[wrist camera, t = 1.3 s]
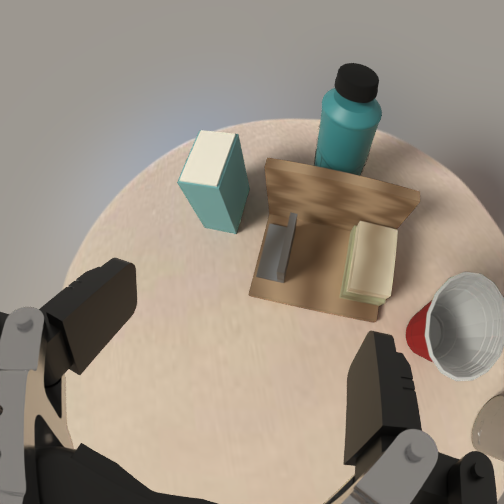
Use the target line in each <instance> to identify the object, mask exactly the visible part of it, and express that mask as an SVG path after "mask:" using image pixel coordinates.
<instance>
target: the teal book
mask: <svg viewBox="0 0 504 504" xmlns="http://www.w3.org/2000/svg"><path fill="white" fill-rule="evenodd" d="M177 183H178V185H179V186H180V188H181V190H182V191H183V193H184V195H185V196H186V198H187V199H188V201H189V203H190V204H191V206H192V208H193V209H194V211H195V213H196V214H197V216H198V217H199V219H200V221H201V222H202V224H203V226H204V227H205V228H209V229H214V230H219V231H224V232H229V233H234V234H237V230H238V227H239V223H240V220H241V216H242V213H243V210H244V206H245V203H246V199H247V196H248V193H249V189H250V188H249V183H248V178H247V173H246V169H245V164H244V159H243V154H242V149H241V144H240V140H239V135H238V134H232V133H223V132H212V131H199V133H198V135H197V138H196V140H195V142H194V144H193V147H192V149H191V151H190V153H189V156H188V158H187V160H186V163H185V165H184V168H183V170H182V172H181V175H180V177H179V180H178V182H177Z"/></svg>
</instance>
